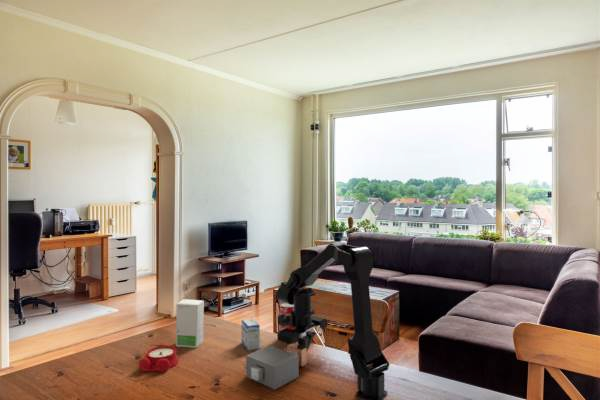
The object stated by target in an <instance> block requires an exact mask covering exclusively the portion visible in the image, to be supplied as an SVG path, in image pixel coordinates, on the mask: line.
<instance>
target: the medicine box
mask: <svg viewBox="0 0 600 400" xmlns="http://www.w3.org/2000/svg"><path fill="white" fill-rule="evenodd" d="M260 336H261V335H260V324H259V323H258V322H257V321H256V320H255V319H254V318H245V319H242V320H241V344H242V346H244V347H245V348H246V350H247V351H253V350H254V351H255V350H258V349H259V350H260V348H261V344H260V343H261V341H260V339H261V338H260Z"/></svg>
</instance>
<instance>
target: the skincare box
mask: <svg viewBox="0 0 600 400" xmlns="http://www.w3.org/2000/svg"><path fill="white" fill-rule="evenodd" d="M204 304H205V301H204V300H201V299H186V298H183V299H181V300H180V301H179V302H177V303H176V313H175V314H176V319H175V320H176V321H175V347H178V348H181V347H182V348H195V349H197V348H199V346H201V345H202V343H203V342H204V319H205V318H204V317H205V316H204V315H205V314H204V313H205V311H204V308H205V305H204Z"/></svg>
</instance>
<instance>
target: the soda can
mask: <svg viewBox="0 0 600 400" xmlns="http://www.w3.org/2000/svg"><path fill="white" fill-rule="evenodd" d="M293 310H294V305H290V304H287V303H284V302H281V304H280V307H279V313H278V314H279V315H282V314H285V315H288V314H291V311H293ZM279 315H278V316H279ZM286 328H288V329H291V330H294V329H295V327H293V328H292V327H290V325H287V326H285V327H283V326H282V325H279V331H281V330H283V329H286Z"/></svg>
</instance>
